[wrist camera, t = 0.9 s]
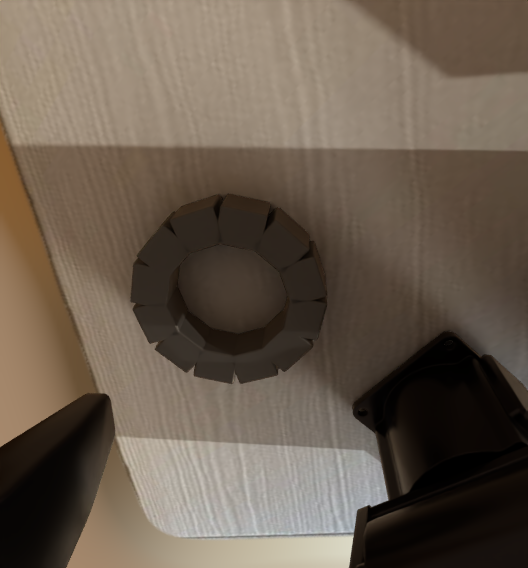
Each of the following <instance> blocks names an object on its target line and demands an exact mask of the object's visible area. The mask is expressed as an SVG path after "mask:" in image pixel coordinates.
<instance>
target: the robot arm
mask: <svg viewBox="0 0 528 568" xmlns="http://www.w3.org/2000/svg"><path fill="white" fill-rule="evenodd" d="M449 340H452V341H453V342H452V343H451V344H450V345H444V344H445V342H446V341H449ZM352 409H353V415H354V417H355V418H356V419H358V420H359V421H360V422H361V423H363V424H364V425H365V426H366V427H368V428H369V429H370V430H372V431H373V432H374V433H375V434H376V438H377V443H378V448H379V453H380V459H381V464H382V469H383V474H384V480H385V485H386V490H387V495H388V501H386V502H383V503H381V504H378V505H376V506H373V507H371V506H370V505H368V506H366V507H363V508H361V509H358V510H357V516H356V523H355V530H354V537H353V545H352V552H351V558H350V566H349V568H528V390H527V389H526V388H525V386H524V385H523V384H522V383H521V382H520V381H519V380H518V379H517V378H516V377H515V376H514V375H512V374H511V373H510V372H509V371H508V370H507V369H506V368H505V367H504V366H503V365H501V364H500V363H499V362H498V361H497V360H496V359H495V358H494V357H493V356H492V355H486V354H484V355H482V356H480V355H479V354H478V353H477V352H475V351H474V350H473V349H472V348H471V347H470V346H469V345H468V344H467V343H465V342H464V341H463V340H462V339H461V338H460V337H459V336H458V335H457V334H455V333H453V332H450V331H447V332H443V333H442V334H440V335H439V336H437V337H436V338H435V339H434V340H432V341H431V342H430V343H429V344H427V345H426V346H425V347H424V348H422V349H421V350H420V351H419V352H417V353H416V354H415V355H413V356H412V357H411V358H410V359H408V360H407V361H406V362H405V363H403V364H402V365H401V366H400V367H398V368H397V369H396V370H395V371H393V372H392V373H391V374H390V375H388V376H387V377H386V378H385V379H383V380H382V381H381V382H380V383H378V384H377V385H376V386H375V387H373V388H372V389H371V390H370V391H368V392H367V393H366V394H365V395H363V396H362V397H361V398H359V399H358V400H357V401H356V402H355V403H354V404H353V407H352ZM360 409H366V410H365V411H359V410H360ZM114 436H115V424H114V418H113V412H112V406H111V400H110V398H109V396H108V395H107V394H101V393H87V394H85V395H83V396H82V397H80V398H78V399H77V400H75V401H73V402H72V403H70V404H69V405H67V406H65V407H64V408H62V409H61V410H59V411H58V412H56V413H54V414H53V415H51V416H49V417H48V418H46V419H45V420H43V421H41V422H40V423H38V424H37V425H35V426H33V427H32V428H30V429H29V430H27V431H25V432H24V433H22V434H21V435H19V436H17V437H16V438H14V439H12V440H11V441H9V442H8V443H6V444H4V445H3V446H1V447H0V568H66V567H67V564H68V562H69V560H70V558H71V555H72V553H73V551H74V549H75V546H76V544H77V542H78V540H79V537H80V535H81V532H82V530H83V528H84V526H85V524H86V521H87V519H88V516H89V514H90V512H91V509H92V506H93V503H94V500H95V497H96V494H97V490H98V487H99V484H100V481H101V478H102V475H103V472H104V469H105V465H106V462H107V459H108V456H109V453H110V450H111V446H112V443H113V440H114Z"/></svg>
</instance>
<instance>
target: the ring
mask: <svg viewBox="0 0 528 568" xmlns="http://www.w3.org/2000/svg"><path fill="white" fill-rule="evenodd" d="M270 205H271V204H270V202H266V201H261V200H256V199H251V198H247V197H242V196H237V195H233V194H228V195H227V196H226V198H225V200H224V201H222V198H221V196H220V195H219V194H218V195H215V196H212V197H209V198H206V199H203V200H200V201H197V202H194V203H191V204H188V205H184V206H181V207H180V208H179V210H178V211H177V212H173V213H172V214H171V215H170V216H169V217H168V218H167V219H166V221H165V222H164V223H163V224H162V225H161V226H160V228H159V229H158V230H157V231H156V232H155V234H154V235H153V236H152V237H151V239H150V240H149V241H148V242H147V244H146V245H145V246H144V247H143V248H142V250H141V251H140V252H139V253H138V255H137V257H138V259H137V260H136V261H135V262H134V264H133V276H132V288H131V300H130V301H131V302H133V303H136V304H135V306H134V307H133V312H134V314H135V316H136V318H137V320H138V322H139V324H140V326H141V328H142V330H143V332H144V334H145V336H146V338H147V340H148V342H149V343H154V342H158V341H159V342H158V344H157V346H156V347H155V350H156V351H157V352H159V353H160V354H161V355H163V356H164V357H165V358H167V359H168V360H170V361H171V362H172V363H174V364H175V365H176V366H178V367H179V368H180V369H182V370H183V371H184V372H186V373H187V372H188V371H189V370H190V369H191V368H192V367H193V366H194V365H195V369H194V376H195V377H200V378H205V379H210V380H215V381H219V382H224V383H229V384H233V382H234V378H235V373H236V375H237V378H238V380H239V382H240V384H243V383H247V382H251V381H256V380H260V379H264V378H268V377H272V376H277V375H278V368H280V369H281V370H282V371H284V372H285V371H287V370H288V369H289V368H290V367H291V366H292V365H293V364H294V363H295V362H297V361H298V360H299V359H300V358H301V357H302V356H303V355H304V354H306V353H307V352H308V351H309V350H310V349H311V348H312V347H313V340H317V339H318V335H319V332H320V328H321V325H322V321H323V318H324V314H325V311H326V307H327V298H326V296H327V288H326V278H325V274H324V271H323V268H322V264H321V261H320V258H319V255H318V252H317V249H316V245H315V242H314V241H311V242H309V234H308V233H307V232H306V231H305V230H304V229H303V228H302V227H301V226H300V225H298V224H297V223H296V222H295V221H294V220H293V219H292V218H290V217H289V216H288V215H287V214H286V213H285V212H284V211H283V210H281V209H280V208H279V207H277V208H276V209H275V210H274V211H273V212H272V213H271V214H270V215H269V216H268V214H269V209H270ZM219 244H224V245H228V246H233V247H238V248H243V249H247V250H252V251H255V252H256V253H258V254H259V255H260V256H261V257H262V258H264V259H265V260H266V261H267V262H268V263H269V264H271V265H272V266H273V267H274V268H275V269H277V270H278V271H279V273H280V275H281V278H282V281H283V284H284V287H285V289H286V292H287V295H288V296H287V300H286V304H285V308H284V309H283V310H282V311H281V312H280V313H279V314H278V315H277V316H276V317H275V318H274V319H273V320H272V321H271V322H270V323H269V324H268V325H267V326H266V327H264V328H260V329H256V330H252V331H249V332H245V333H241V334H236V333H231V332H226V331H221V330H216V329H212V328H210V327H208V326H207V325H206V324H204V323H203V322H202V321H201V320H199V319H198V318H197V317H195V316H194V315H193V314H191V313H190V312H189V311H188V309H187V307H186V305H185V303H184V300H183V298H182V296H181V294H180V292H179V289H178V287H177V284H178V276H179V269H180V264H181V263H182V262H183V261H184V260H185V258H186V257H187V256H188V255H189V254H190V253H192V252H196V251H199V250H202V249H205V248H209V247H212V246H215V245H219Z"/></svg>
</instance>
